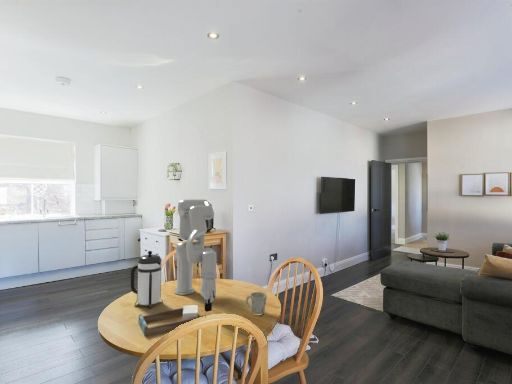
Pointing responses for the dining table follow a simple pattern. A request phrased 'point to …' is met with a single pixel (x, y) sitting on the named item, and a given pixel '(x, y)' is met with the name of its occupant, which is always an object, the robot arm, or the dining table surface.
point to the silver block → (190, 311)
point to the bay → (162, 327)
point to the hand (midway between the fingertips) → (208, 310)
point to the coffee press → (147, 279)
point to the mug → (257, 302)
